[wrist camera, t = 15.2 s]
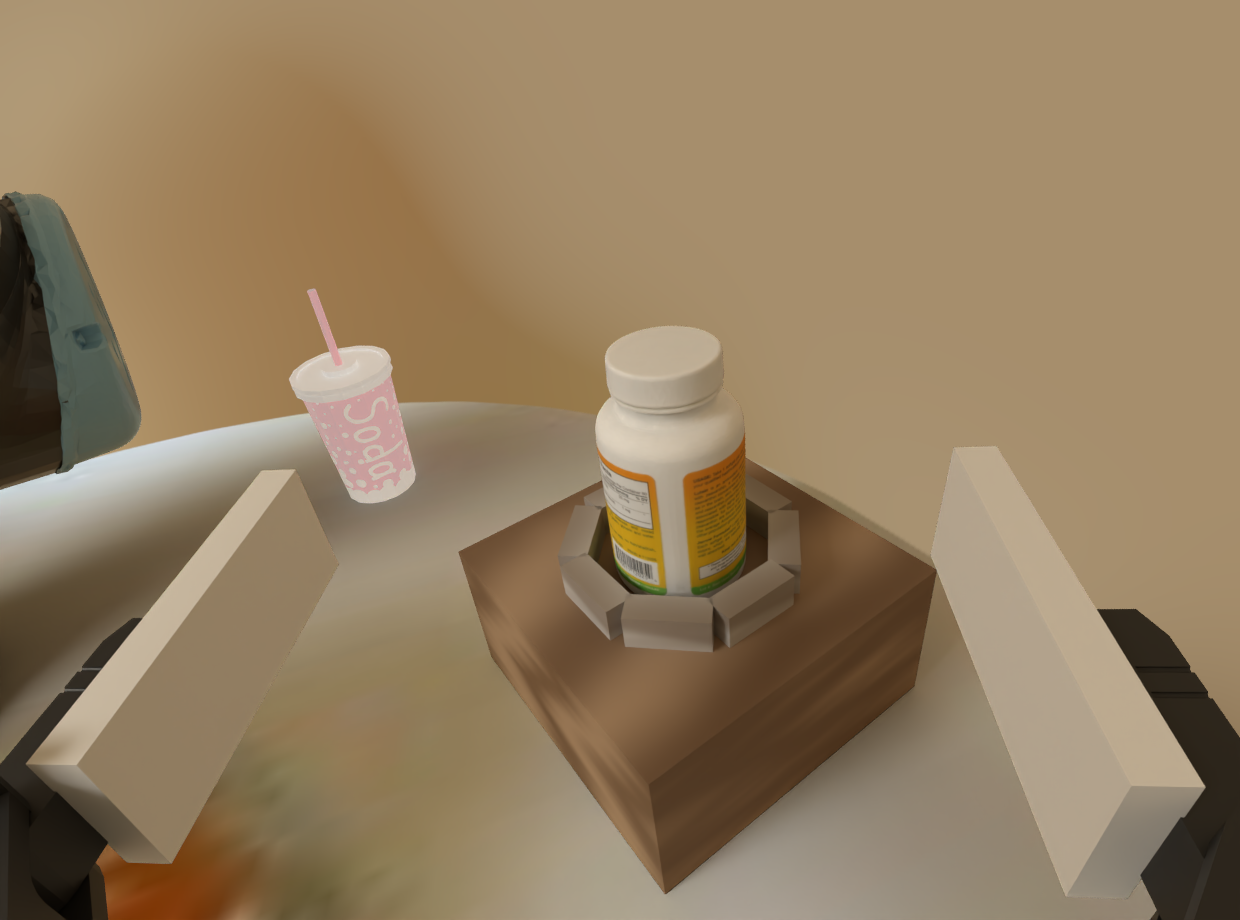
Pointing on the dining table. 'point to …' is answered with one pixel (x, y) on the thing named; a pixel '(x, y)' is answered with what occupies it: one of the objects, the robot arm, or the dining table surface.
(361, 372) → the beverage cup
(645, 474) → the supplement bottle
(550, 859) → the dining table surface
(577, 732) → the carrier block
